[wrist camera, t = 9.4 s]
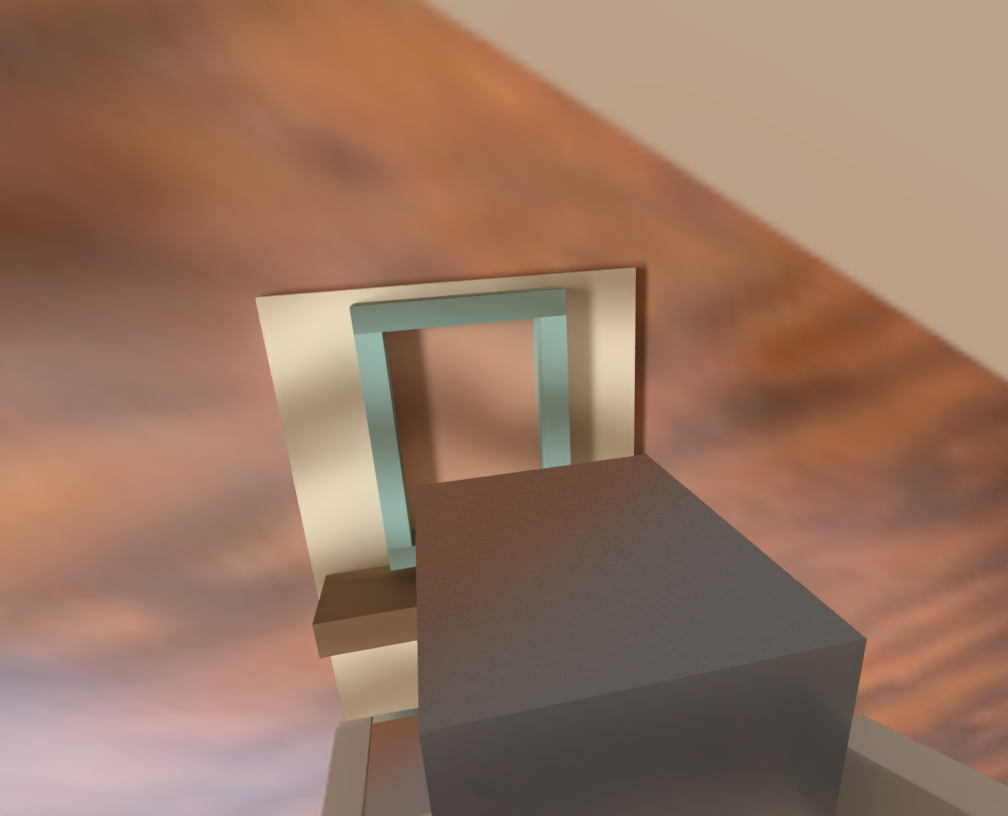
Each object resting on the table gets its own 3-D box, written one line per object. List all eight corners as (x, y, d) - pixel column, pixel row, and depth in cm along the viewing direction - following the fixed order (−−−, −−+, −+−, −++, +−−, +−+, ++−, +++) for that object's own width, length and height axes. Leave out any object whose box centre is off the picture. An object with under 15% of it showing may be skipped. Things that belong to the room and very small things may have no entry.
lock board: (625, 727, 29) (657, 796, 26) (362, 785, 27) (354, 871, 23) (627, 267, 22) (673, 269, 18) (261, 296, 19) (225, 305, 16)
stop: (646, 453, 9) (866, 639, 5) (641, 754, 11) (788, 1072, 7) (414, 486, 8) (418, 732, 4) (456, 796, 10) (488, 1176, 6)
